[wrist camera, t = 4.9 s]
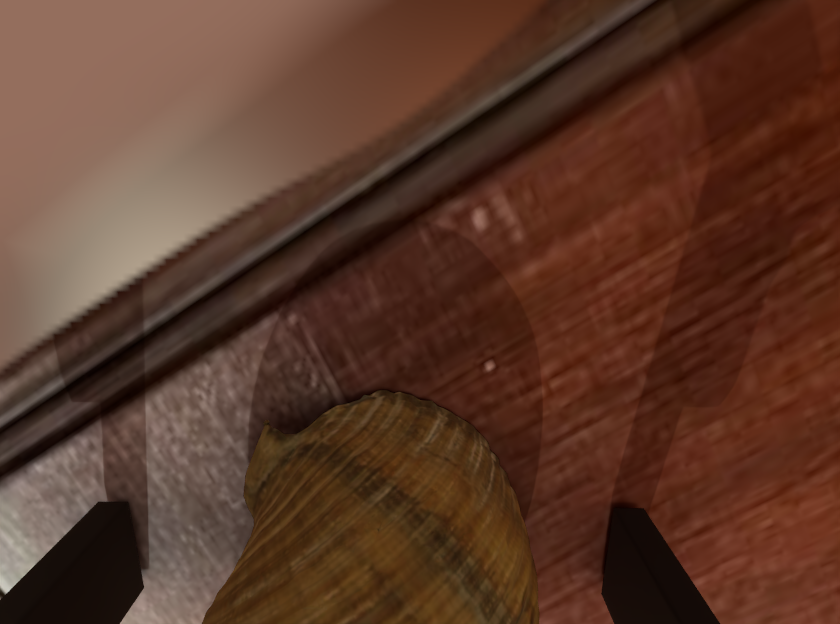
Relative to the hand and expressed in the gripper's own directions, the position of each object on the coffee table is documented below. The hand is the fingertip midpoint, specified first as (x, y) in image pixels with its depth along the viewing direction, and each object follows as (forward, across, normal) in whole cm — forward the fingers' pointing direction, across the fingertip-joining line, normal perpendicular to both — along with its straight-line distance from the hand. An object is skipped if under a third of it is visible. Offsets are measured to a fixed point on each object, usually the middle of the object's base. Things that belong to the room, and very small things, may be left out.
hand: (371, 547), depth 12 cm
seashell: (0, 0, 0) cm, 0 cm away
